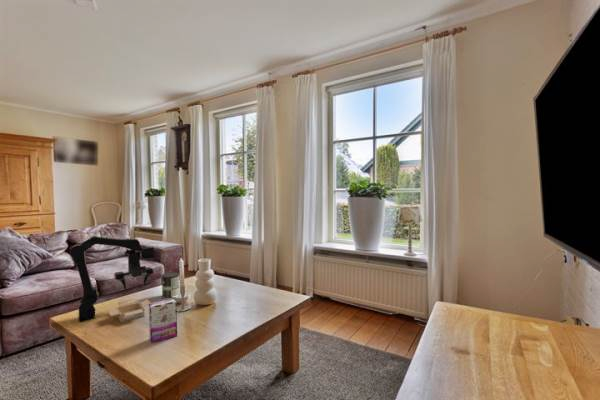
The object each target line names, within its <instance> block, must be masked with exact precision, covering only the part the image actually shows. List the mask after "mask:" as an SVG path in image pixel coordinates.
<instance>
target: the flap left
mask: <svg viewBox="0 0 600 400" xmlns="http://www.w3.org/2000/svg"><path fill="white" fill-rule="evenodd" d="M117 303H118V306H119V307H121V306H126V305H130V304H135V303H137V301H136V299H135V298H133V299H132V298H131V299H127V300H124V301H119V302H117Z"/></svg>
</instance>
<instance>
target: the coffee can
mask: <svg viewBox="0 0 600 400" xmlns="http://www.w3.org/2000/svg"><path fill="white" fill-rule="evenodd" d="M176 295H179V296H180V273H179V272H173V271H172V272H166V273H164V274H162V275H161V298H162V299H163V300H170V299H173V296H176Z"/></svg>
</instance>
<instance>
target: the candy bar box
mask: <svg viewBox="0 0 600 400" xmlns="http://www.w3.org/2000/svg"><path fill="white" fill-rule="evenodd" d="M177 304H178V303H177V300H176V299H175V298H174V299H164V300H161V301H157V302H153V303H152V302H151V304H149V305H148V322H149V323H148V324H149V325H148V326H149V328H148V330H149V333H148V334H149V341H150V343H151V344H155V343H158V342H161V341H165V340H168V339H169V340H170V339H171V338H175V337H178V311H177Z"/></svg>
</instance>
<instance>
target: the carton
mask: <svg viewBox="0 0 600 400" xmlns="http://www.w3.org/2000/svg"><path fill="white" fill-rule="evenodd" d="M107 312H108V315H109V316H110V317H113V316H116V317H117V319H118V320H119V322H120V323H124V322H128V321H132V320H135V319H136V320H137V319H140V318H144V317H145V307H144V306H143V305H142V304H141V303H140V302H136V303H133V304H128V305H124V306H119V307H116V308H114V309H108V310H107Z"/></svg>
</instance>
